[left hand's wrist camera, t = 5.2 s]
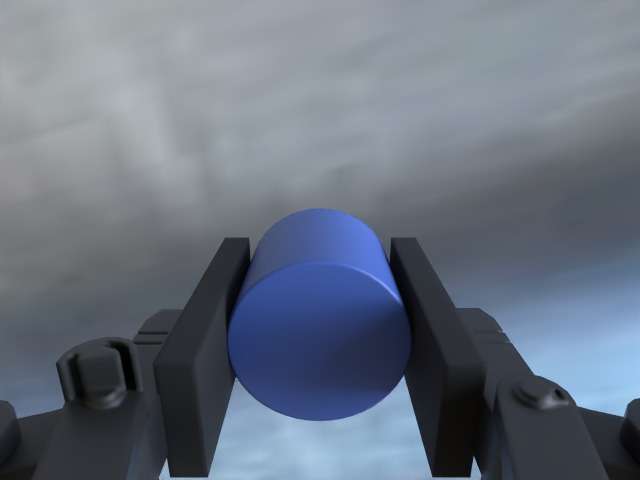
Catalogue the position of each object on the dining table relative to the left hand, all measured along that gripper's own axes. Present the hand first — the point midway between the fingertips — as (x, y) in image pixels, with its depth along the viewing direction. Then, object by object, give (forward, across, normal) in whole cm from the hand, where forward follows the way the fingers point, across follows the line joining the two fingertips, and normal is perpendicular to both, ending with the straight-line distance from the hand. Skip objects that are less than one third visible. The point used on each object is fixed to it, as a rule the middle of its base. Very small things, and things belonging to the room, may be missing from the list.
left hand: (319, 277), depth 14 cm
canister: (0, 0, 0) cm, 0 cm away
